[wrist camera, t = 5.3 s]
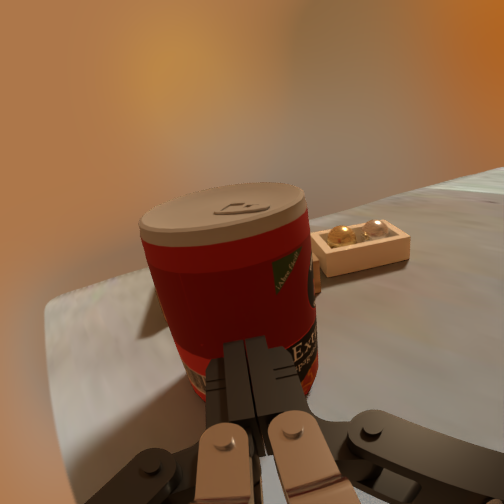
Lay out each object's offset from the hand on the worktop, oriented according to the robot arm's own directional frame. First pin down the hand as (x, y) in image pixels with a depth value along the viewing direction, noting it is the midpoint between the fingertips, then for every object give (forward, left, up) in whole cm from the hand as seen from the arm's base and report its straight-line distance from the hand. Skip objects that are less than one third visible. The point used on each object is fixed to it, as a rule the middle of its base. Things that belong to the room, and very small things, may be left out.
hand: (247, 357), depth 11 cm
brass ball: (-11, -19, -6) cm, 22 cm away
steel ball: (-14, -19, -6) cm, 24 cm away
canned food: (0, -6, -7) cm, 9 cm away
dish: (-12, -19, -7) cm, 23 cm away
